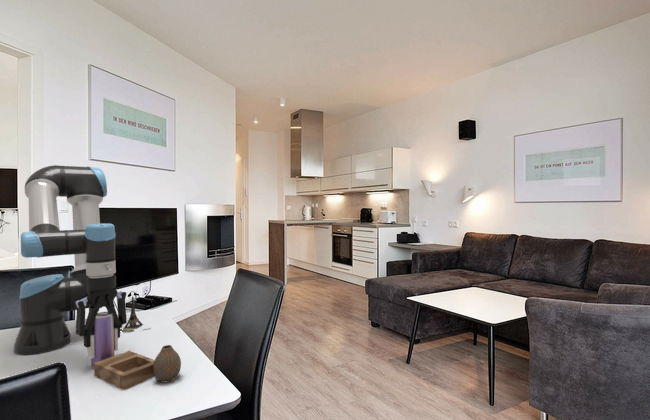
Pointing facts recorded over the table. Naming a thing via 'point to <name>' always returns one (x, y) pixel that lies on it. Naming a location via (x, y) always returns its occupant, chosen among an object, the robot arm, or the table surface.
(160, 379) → the vase
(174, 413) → the table surface
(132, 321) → the eiffel tower figurine
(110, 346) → the beverage can
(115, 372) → the wooden recessed tray
